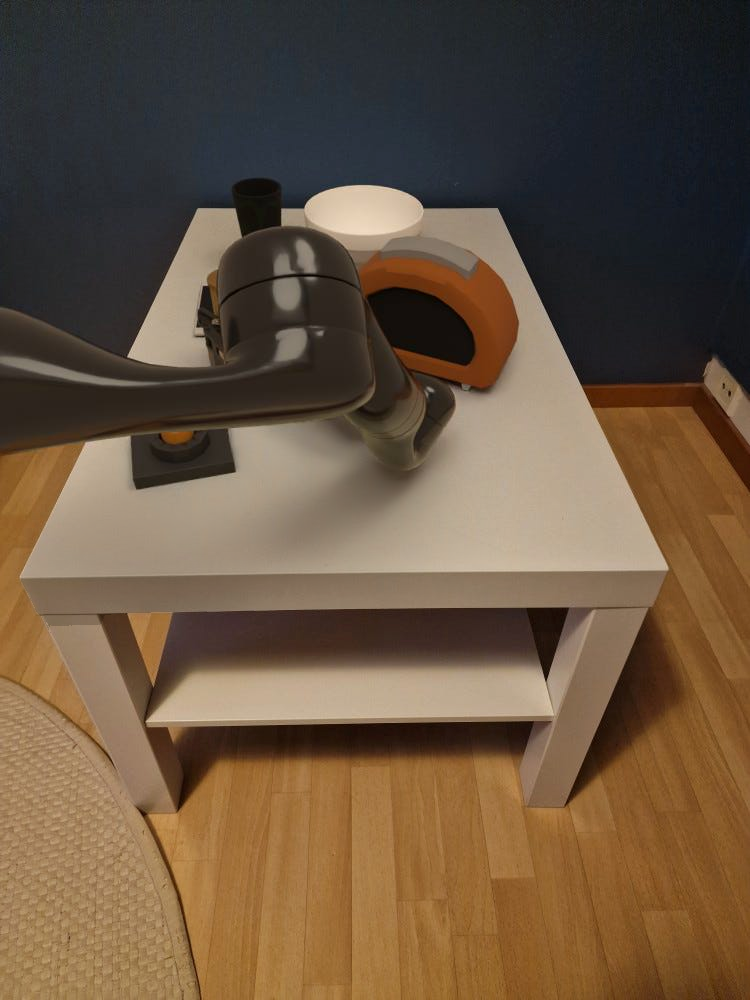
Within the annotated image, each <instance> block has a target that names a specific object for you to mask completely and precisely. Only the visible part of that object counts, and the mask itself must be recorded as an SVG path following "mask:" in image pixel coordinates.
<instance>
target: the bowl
mask: <svg viewBox="0 0 750 1000" xmlns="http://www.w3.org/2000/svg"><path fill="white" fill-rule="evenodd" d="M303 215H304V216H303V217H304V222H305V227H306V228H311V229H315V230H318V231H320V232H323V233H326V234H328V235H329V236H331V237H332V238H334V239H336V240H337V241H339V242H340V243H341V244H342V245H343V246H344V247H345V248H346V249H347V250H348V252H349V253H350V255H351V256H352V258H353V260H354V263H355V265H356V268H357V270H358V271H359V270H360V269H361V268H362V267H363V266H364V265H365V264H366V262H367V261H368V260H369V259H370V258H371V257H372V256H373V255H374V254H375V253H376V252H378V251H380V250H381V249H382V248H383V247H384V246H385V245H386V244H387V243H388V242H389V241H390V240H391V239H393V238H399V237H406V236H420V234H421V231H422V228H423V223H424V215H425V211H424V206H423V205H422V203H421V202H420V201H419V199H417V197H415V196H413V195H411V194H409V193H407V192H404V191H402V190H400V189H395V188H392V187H387V186H382V185H372V184H371V185H370V184H356V185H355V184H354V185H344V186H338V187H334V188H330V189H327V190H324V191H321V192H319V193H317V194H316V195H313V196H312V197H311V198H309V200H307V201H306V204H305V205H304V209H303Z"/></svg>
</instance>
